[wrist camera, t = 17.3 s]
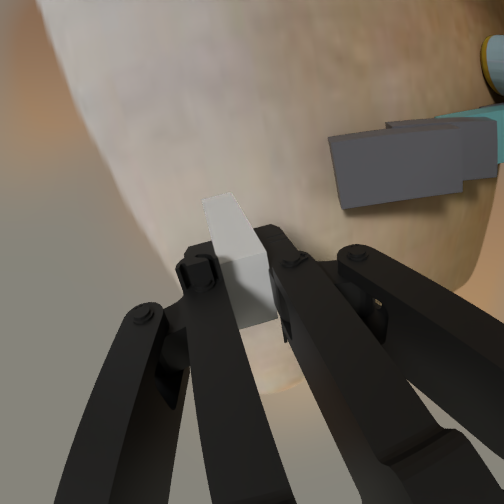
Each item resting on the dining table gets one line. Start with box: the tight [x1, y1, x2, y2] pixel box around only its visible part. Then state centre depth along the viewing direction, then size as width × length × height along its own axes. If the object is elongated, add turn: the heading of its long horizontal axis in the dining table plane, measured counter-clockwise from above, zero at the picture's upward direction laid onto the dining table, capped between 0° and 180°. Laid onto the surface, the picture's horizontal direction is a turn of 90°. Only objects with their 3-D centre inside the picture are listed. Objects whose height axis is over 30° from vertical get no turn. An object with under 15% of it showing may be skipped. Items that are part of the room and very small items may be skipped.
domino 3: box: [434, 105, 504, 164], centre depth 21 cm, size 2×5×10 cm
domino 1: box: [328, 123, 463, 209], centre depth 20 cm, size 2×5×10 cm
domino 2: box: [385, 117, 498, 181], centre depth 21 cm, size 2×5×10 cm
